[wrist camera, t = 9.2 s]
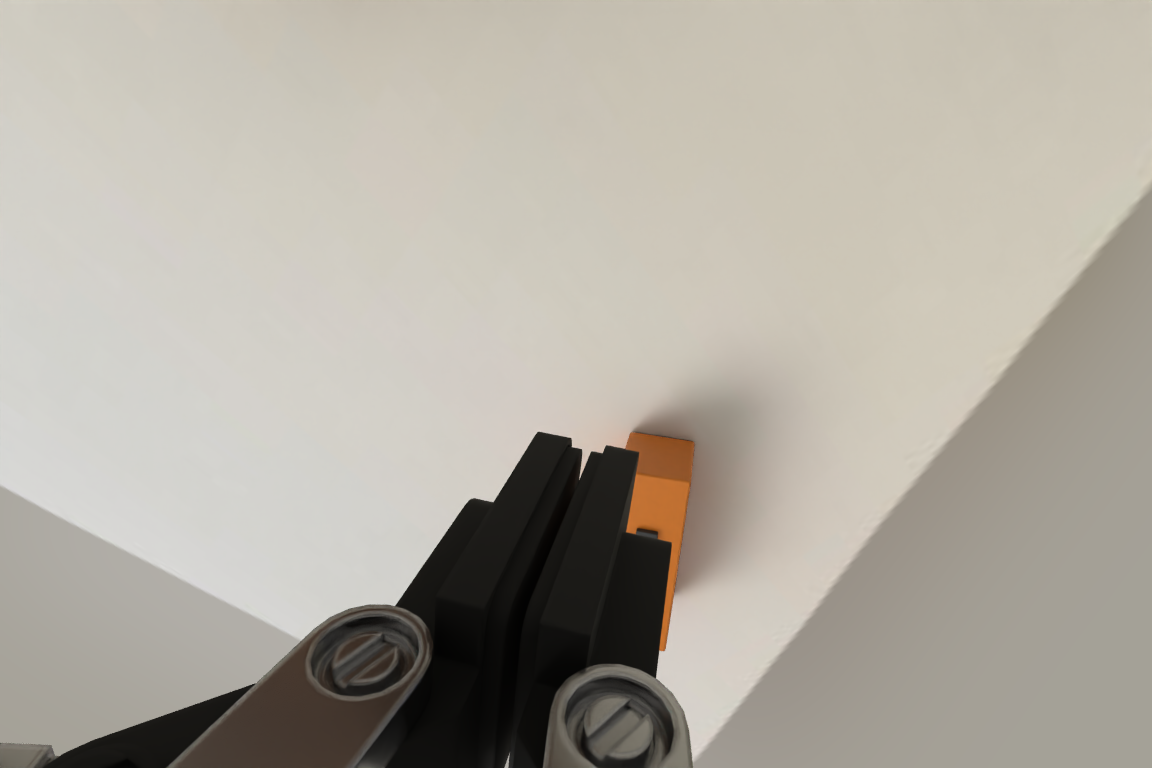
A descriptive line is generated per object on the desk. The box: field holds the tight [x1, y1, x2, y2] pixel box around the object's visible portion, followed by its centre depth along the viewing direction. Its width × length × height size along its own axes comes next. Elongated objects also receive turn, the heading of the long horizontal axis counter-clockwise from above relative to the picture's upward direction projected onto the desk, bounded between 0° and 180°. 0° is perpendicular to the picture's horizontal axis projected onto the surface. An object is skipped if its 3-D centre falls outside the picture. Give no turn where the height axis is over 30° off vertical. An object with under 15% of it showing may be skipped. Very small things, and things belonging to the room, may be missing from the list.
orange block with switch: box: [625, 432, 695, 651], centre depth 25 cm, size 9×3×3 cm, turn 177°
